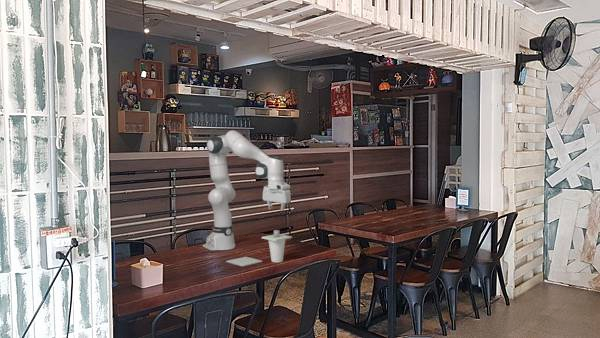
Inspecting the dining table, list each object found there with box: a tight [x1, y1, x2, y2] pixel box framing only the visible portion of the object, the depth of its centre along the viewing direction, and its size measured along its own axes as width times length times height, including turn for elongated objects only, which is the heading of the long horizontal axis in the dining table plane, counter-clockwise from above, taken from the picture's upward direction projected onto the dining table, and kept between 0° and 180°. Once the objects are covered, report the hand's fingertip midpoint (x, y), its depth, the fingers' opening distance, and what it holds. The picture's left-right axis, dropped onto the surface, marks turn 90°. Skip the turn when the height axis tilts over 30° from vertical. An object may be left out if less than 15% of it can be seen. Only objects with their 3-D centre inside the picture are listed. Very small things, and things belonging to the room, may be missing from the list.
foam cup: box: [267, 239, 286, 263], centre depth 277 cm, size 10×9×13 cm
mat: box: [225, 256, 263, 267], centre depth 276 cm, size 15×14×1 cm
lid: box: [261, 229, 293, 241], centre depth 276 cm, size 12×12×4 cm
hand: (276, 210), depth 276 cm, fingers open, 8 cm apart
